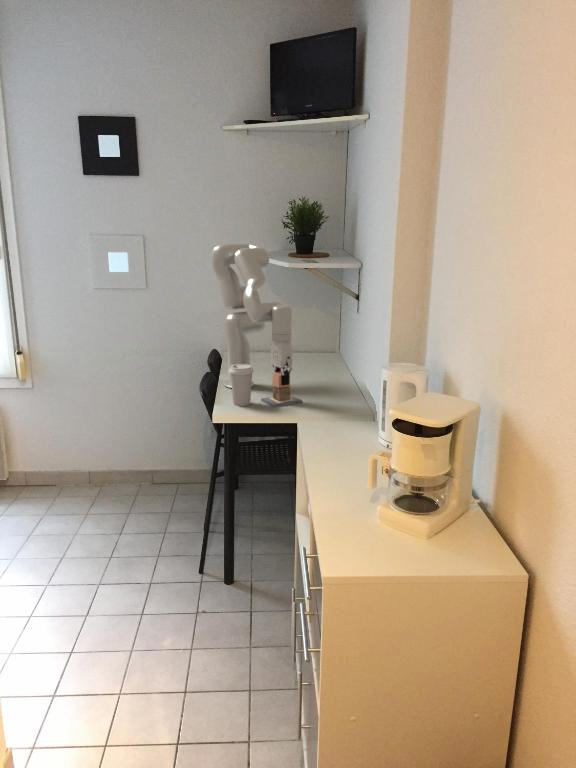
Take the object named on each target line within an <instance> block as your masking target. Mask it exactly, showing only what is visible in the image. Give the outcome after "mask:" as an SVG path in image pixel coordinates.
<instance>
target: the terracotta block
mask: <svg viewBox="0 0 576 768" xmlns="http://www.w3.org/2000/svg"><path fill="white" fill-rule="evenodd" d="M281 375H282V372H275V373H274V372H272V387H273V386H276V387H278V388H283V387H290V388H291V374H290V375H289V385H281Z"/></svg>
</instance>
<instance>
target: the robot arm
mask: <svg viewBox="0 0 576 768" xmlns="http://www.w3.org/2000/svg"><path fill="white" fill-rule="evenodd" d="M269 264H270V256H269V253H268V251H267V249H265V248H263V247H262V246H258V245H255V244H251V243H247V242H246V243H245V242H244V243H243V242H242V243H223V244H218V245H216V246H215V247H214V248H213V249H212V252H211V265H212V269H213V271H214V273H215V276H216V277H217V281H218V285H219V290H220V295H221V298H222V302H223V305H224V306H223V307H224V308H225V309H226V310H230V311H236V310H245V311H238V312H233V313H229V314H227V316H226V317H225V319H224V330H225V333H226V334H225V335H226V344H227V345H226V346H227V347H226V348H227V381H225V382H224V387H225V386H226V387H225V388H227V387H228V388H227V389H231V388H232V386H231V377H230V373H229V369H230V368H231V366H232V365H235V364H248V365H251V345H250V344H251V343H250V342H249V340H248V339H247V337H246V335H251V334H258V333H261V332H262V331H264V329H265V324H267V323H271V342H270V343H271V344H270V351H269V352H270V353H269V359H270V360H269V363H270V364H271V366H272V367H273V373H275V372H282V375H281V385H289V375H290V376H291V372H292V371H293V348H292V347H293V346H292V337H293V336H292V333H293V332H292V329H293V327H292V325H293V324H292V322H293V321H292V319H293V318H292V317H293V316H292V315H293V314H292V312H293V311H292V307H291V306H290V305H288V304H282V303H280V302H278V301H277V302H276V301H275V302H274V301H271V302H263V303H262V301H261V297H260V293H259V292H258V290H259V289H260V288H261V287H263V286H264V285H265V283H266V281H267V277H266V275H265V273H264V271H263V269H264V268H265V269H266V268H267V267H268V265H269ZM231 265H235V266H236V267H237V270H238V271H239V274H240V276H241V278H242V280H243V282H244V285H245V286H244V285H243V286H242V285H241V283H240V279H239V275H238V273H237V272H236V270H235V269H234V268H232V267H231ZM253 387H255V382H254V380H252V384H251V388H253Z"/></svg>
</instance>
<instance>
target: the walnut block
mask: <svg viewBox="0 0 576 768" xmlns="http://www.w3.org/2000/svg"><path fill="white" fill-rule="evenodd" d="M290 394H291V386H290V387H283V388H278V387H276V386H273V385H272V397H273V399H275V400H277V401H285V400H290Z"/></svg>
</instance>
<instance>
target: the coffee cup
mask: <svg viewBox="0 0 576 768" xmlns="http://www.w3.org/2000/svg"><path fill="white" fill-rule="evenodd" d="M229 373H230V377H231V386H232V389H231V395H232V403H233V406H236V407H246V406H249V405H250V404H251V398H252V397H251V396H252V387H251V384H252V381H253V373H254V369H253V367H252V365H251V364H250V365H248V364H235V365H232V366H231V368H230V369H229Z"/></svg>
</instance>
